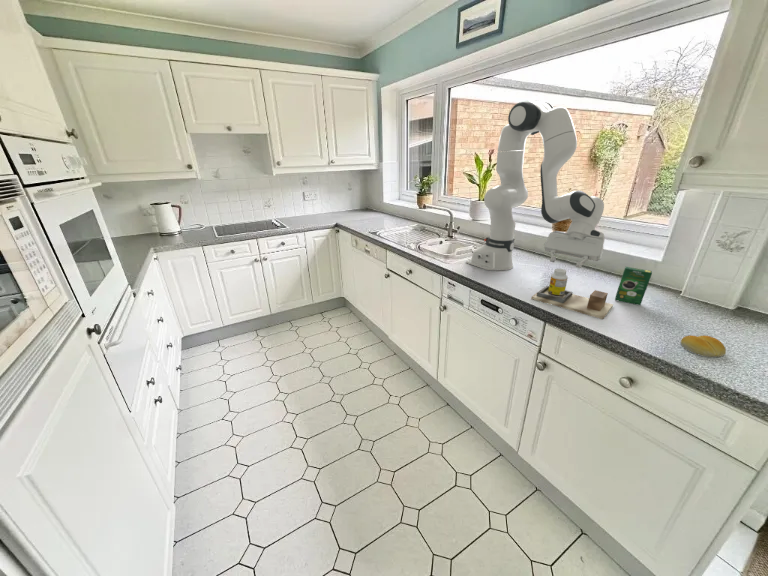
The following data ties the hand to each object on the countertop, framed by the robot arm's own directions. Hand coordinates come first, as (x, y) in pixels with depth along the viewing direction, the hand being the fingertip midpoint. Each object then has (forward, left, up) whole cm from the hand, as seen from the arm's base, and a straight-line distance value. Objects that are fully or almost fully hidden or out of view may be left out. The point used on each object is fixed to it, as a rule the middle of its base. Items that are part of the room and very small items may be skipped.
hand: (564, 264), depth 122 cm
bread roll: (+43, -14, -13) cm, 47 cm away
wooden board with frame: (+6, -6, -12) cm, 15 cm away
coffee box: (+21, +9, -12) cm, 26 cm away
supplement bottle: (+1, -5, -11) cm, 13 cm away
